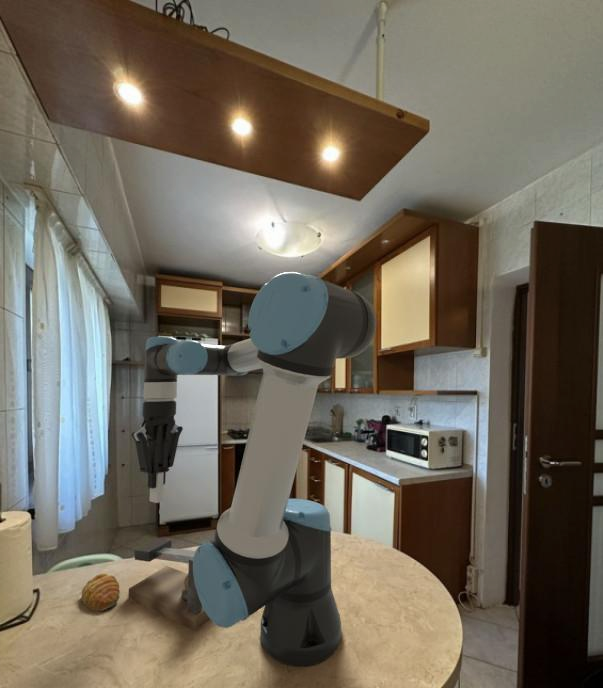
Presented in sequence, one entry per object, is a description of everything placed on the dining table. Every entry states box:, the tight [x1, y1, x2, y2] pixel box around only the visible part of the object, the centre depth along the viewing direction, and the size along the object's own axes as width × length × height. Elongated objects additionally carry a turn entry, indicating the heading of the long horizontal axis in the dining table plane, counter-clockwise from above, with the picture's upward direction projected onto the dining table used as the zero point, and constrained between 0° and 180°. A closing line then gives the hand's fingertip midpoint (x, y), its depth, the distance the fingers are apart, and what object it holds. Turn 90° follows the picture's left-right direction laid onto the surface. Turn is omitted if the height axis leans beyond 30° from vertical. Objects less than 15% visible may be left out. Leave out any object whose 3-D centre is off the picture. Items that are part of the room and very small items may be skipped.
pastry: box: [80, 573, 120, 612], centre depth 71 cm, size 9×7×4 cm
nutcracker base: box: [127, 557, 210, 631], centre depth 72 cm, size 20×10×12 cm, turn 62°
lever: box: [134, 538, 196, 564], centre depth 72 cm, size 21×6×3 cm, turn 63°
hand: (155, 501), depth 77 cm, fingers closed
